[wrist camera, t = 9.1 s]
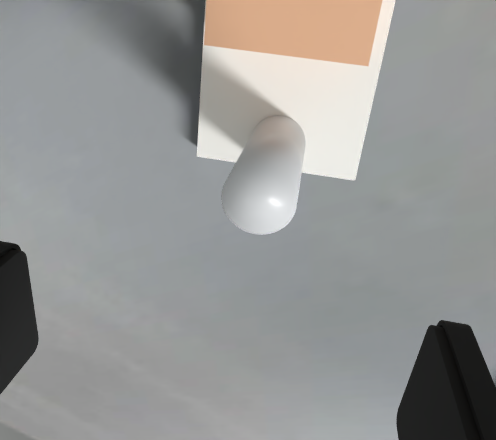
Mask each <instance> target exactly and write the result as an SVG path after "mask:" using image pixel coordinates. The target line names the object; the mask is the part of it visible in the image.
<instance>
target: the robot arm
mask: <svg viewBox="0 0 496 440" xmlns="http://www.w3.org/2000/svg"><path fill="white" fill-rule="evenodd" d="M37 345H38V331H37V324H36V317H35V310H34V304H33V297H32V290H31V283H30V276H29V270H28V263H27V257H26V254H25V253H24V252H23V251H21V249H20V247H19V246H18V245H17V244H13V243H8V242H2V241H0V394H1V393H2V392H3V390H4V389H5V388H6V387H7V385H8V384H9V383H10V382H11V380H12V379H13V378H14V377H15V376H16V374H17V373H18V372H19V371H20V369H21V368H22V367H23V366H24V364H25V363H26V362H27V361H28V359H29V358H30V357H31V356H32V355H33V353H34V352H35V350H36V348H37ZM397 431H398V438H399V440H496V387H495V385H494V382H493V380H492V378H491V375H490V373H489V370H488V368H487V365H486V363H485V360H484V358H483V355H482V353H481V351H480V348H479V346H478V343H477V341H476V338H475V336H474V333H473V331H472V329H471V327H470V326H469V325H466V324H461V323H455V322H450V321H444V320H441V321H439V323H438V324H437V326H434V325H430V326H429V327H428V329H427V332H426V335H425V337H424V340H423V343H422V346H421V348H420V351H419V354H418V356H417V359H416V362H415V365H414V367H413V370H412V373H411V376H410V378H409V381H408V384H407V387H406V389H405V392H404V395H403V397H402V400H401V403H400V406H399V408H398V412H397Z"/></svg>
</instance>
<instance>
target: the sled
mask: <svg viewBox="0 0 496 440" xmlns="http://www.w3.org/2000/svg"><path fill="white" fill-rule="evenodd" d="M394 5H395V0H205V18H204V36H203V54H202V72H201V90H200V108H199V126H198V144H197V157H203V158H210V159H216V160H223V161H229V162H236V163H235V165H234V167H233V169H232V171H231V173H230V174H229V176H228V178H227V180H226V182H225V184H224V186H223V189H222V194H221V200H222V206H223V209H224V212H225V214H226V215H227V217H228V218H229V220H230V221H231V222H232V223H233V224H234V225H236V226H237V227H238V228H240V229H242V230H244V231H246V232H249V233H253V234H270V233H274V232H276V231H278V230H280V229H282V228H283V227H285V226H286V225H287V224H288V223H289V222H290V221H291V219H292V218H293V216H294V214H295V211H296V207H297V200H298V194H299V187H300V180H301V173H308V174H315V175H322V176H328V177H335V178H341V179H348V180H354V181H355V179H356V174H357V170H358V165H359V161H360V156H361V152H362V147H363V143H364V139H365V134H366V130H367V125H368V121H369V116H370V112H371V107H372V103H373V98H374V94H375V89H376V85H377V81H378V76H379V72H380V67H381V63H382V58H383V54H384V49H385V45H386V40H387V36H388V31H389V27H390V22H391V18H392V14H393V9H394Z"/></svg>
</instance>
